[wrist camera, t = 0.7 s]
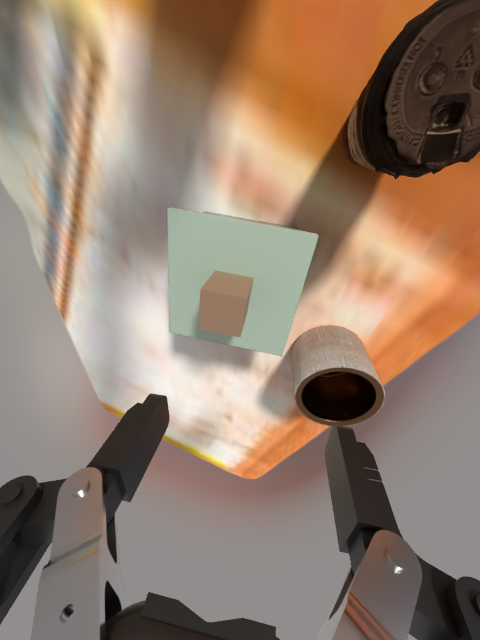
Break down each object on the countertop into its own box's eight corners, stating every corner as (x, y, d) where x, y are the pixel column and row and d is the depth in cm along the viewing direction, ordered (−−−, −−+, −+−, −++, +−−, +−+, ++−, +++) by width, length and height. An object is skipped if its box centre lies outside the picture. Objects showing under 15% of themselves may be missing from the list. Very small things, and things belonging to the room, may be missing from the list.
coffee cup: (367, 199, 27) (427, 212, 15) (312, 147, 25) (335, 119, 14) (445, 116, 22) (605, 53, 11) (386, 47, 21) (503, -107, 10)
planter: (312, 312, 35) (320, 352, 26) (379, 339, 35) (407, 387, 27) (280, 363, 40) (279, 409, 32) (338, 386, 41) (351, 437, 33)
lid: (174, 206, 23) (138, 214, 18) (316, 232, 22) (327, 249, 17) (174, 325, 30) (149, 357, 25) (281, 348, 30) (281, 387, 24)
